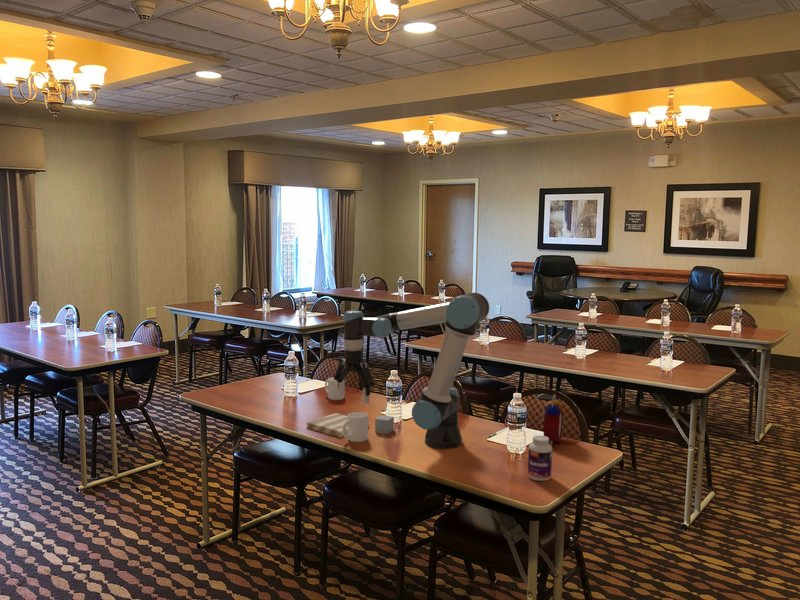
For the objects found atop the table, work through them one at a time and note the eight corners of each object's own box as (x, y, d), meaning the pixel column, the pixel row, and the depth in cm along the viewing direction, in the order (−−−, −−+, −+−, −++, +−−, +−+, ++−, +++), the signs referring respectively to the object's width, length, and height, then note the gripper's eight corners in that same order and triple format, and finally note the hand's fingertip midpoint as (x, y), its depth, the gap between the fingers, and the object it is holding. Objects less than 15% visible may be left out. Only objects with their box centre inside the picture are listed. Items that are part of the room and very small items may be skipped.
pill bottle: (525, 480, 220) (526, 440, 218) (529, 472, 228) (530, 433, 226) (549, 483, 217) (550, 442, 216) (552, 475, 225) (554, 435, 223)
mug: (348, 446, 254) (348, 421, 252) (336, 440, 260) (336, 416, 259) (371, 439, 262) (371, 415, 260) (359, 434, 268) (359, 410, 267)
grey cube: (393, 430, 274) (393, 416, 274) (387, 434, 269) (387, 420, 268) (381, 428, 277) (381, 415, 276) (375, 432, 271) (375, 418, 270)
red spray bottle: (558, 448, 252) (560, 399, 250) (536, 445, 255) (538, 397, 253) (562, 437, 266) (564, 390, 264) (541, 434, 269) (543, 388, 267)
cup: (336, 401, 319) (336, 381, 318) (319, 397, 326) (319, 378, 325) (347, 397, 326) (347, 378, 325) (330, 394, 333) (330, 375, 332)
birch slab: (368, 428, 278) (368, 421, 278) (340, 438, 264) (340, 431, 264) (335, 419, 291) (335, 413, 290) (306, 429, 277) (306, 422, 276)
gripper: (382, 351, 252) (383, 403, 254) (337, 344, 268) (338, 393, 270) (370, 354, 246) (370, 407, 249) (325, 346, 262) (325, 397, 264)
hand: (353, 400), depth 259 cm, fingers open, 13 cm apart
